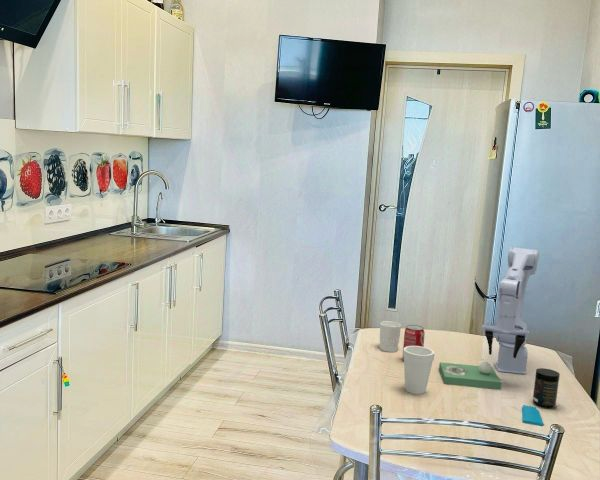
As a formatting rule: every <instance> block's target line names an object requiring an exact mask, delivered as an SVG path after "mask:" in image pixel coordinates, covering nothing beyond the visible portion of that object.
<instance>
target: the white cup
mask: <svg viewBox="0 0 600 480" xmlns="http://www.w3.org/2000/svg"><path fill="white" fill-rule="evenodd" d="M379 325H380V326H379V349H380V350H381V351H384V352H387V353H393V352H394V353H395V352H397V351H398V350H399V344H400V343H399V342H400V337H401V336H400V335H401V328H402V324H401V323H399V322H396V321H391V320H390V321H389V320H383V321H380V323H379Z"/></svg>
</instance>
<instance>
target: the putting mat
mask: <svg viewBox="0 0 600 480" xmlns="http://www.w3.org/2000/svg"><path fill="white" fill-rule="evenodd" d="M438 365H439V366H438V371H439V373H440V376H441V379H442V381H443V385H452V386H459V387H460V386H462V387H471V388H481V389H492V390H500V391H501V388H502V381H501V380H500V377H499V376H498V374H497V372H496V371H495V370H494V367H492V366H491V371H490V372H489V373H487V374H484V373H482V372H481V371H480V370H479V365H473V364H472V365H471V364H462V363H452V362H451V363H450V362H441V361H440V362H439V364H438Z"/></svg>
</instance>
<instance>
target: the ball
mask: <svg viewBox="0 0 600 480" xmlns="http://www.w3.org/2000/svg"><path fill="white" fill-rule="evenodd" d="M478 366H479V370H480V371H481V372H482V373H484V374H487V373H489V372H490V371H491V367H492V366H491V363H489V362H488V361H482V362H480V363H479V365H478Z"/></svg>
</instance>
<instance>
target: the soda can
mask: <svg viewBox="0 0 600 480" xmlns="http://www.w3.org/2000/svg"><path fill="white" fill-rule="evenodd" d="M405 327H406V328H405V330H404V334H403V347H402V352H403V351H404V348H405V347H407V346H421V347H425V334H426V333H425V329H424V326H422V325H418V324H407V325H406V326H405ZM402 360H403V361H404V357H403V356H402Z"/></svg>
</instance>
